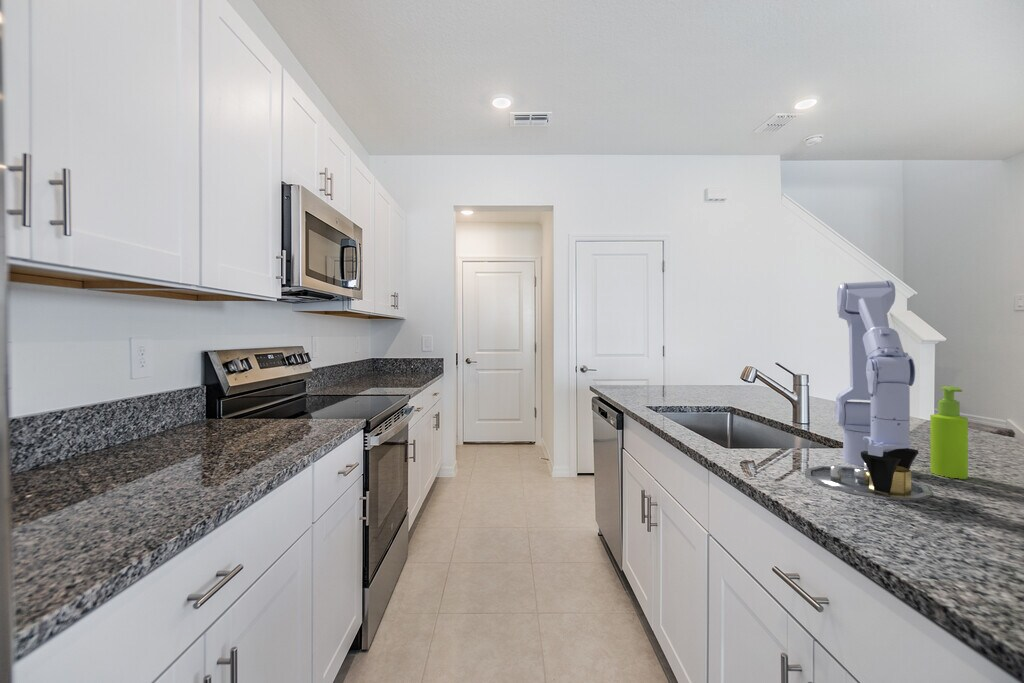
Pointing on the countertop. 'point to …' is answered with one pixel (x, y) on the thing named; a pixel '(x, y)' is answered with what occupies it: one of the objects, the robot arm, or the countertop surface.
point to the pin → (836, 474)
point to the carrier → (860, 483)
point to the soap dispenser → (949, 437)
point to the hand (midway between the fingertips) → (889, 487)
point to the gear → (898, 482)
